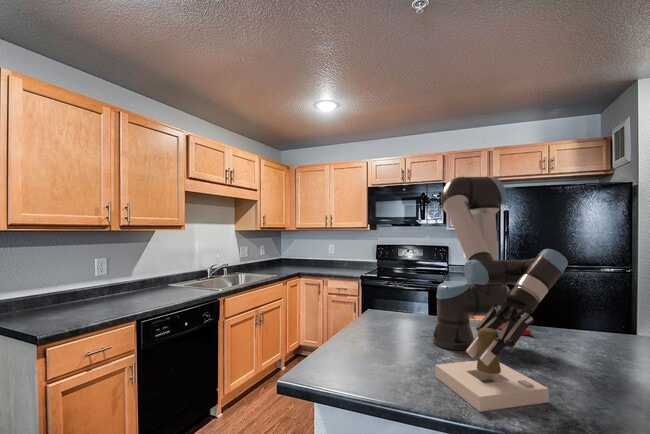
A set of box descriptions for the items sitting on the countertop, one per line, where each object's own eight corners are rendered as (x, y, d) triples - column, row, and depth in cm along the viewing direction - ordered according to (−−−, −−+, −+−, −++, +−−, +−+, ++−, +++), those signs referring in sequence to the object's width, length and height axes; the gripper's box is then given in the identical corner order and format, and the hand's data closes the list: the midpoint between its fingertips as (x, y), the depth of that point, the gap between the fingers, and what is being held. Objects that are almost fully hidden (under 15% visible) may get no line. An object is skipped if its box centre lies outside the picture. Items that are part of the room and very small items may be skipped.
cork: (504, 374, 91) (502, 332, 91) (479, 372, 92) (478, 331, 92) (497, 365, 97) (496, 326, 97) (474, 364, 98) (473, 325, 98)
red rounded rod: (533, 336, 142) (532, 328, 142) (528, 337, 139) (528, 330, 140) (495, 326, 155) (495, 320, 155) (490, 328, 153) (490, 321, 153)
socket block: (435, 376, 102) (435, 363, 103) (493, 370, 107) (493, 357, 107) (479, 411, 83) (479, 394, 83) (548, 402, 87) (548, 386, 87)
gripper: (562, 311, 90) (509, 381, 85) (510, 297, 107) (464, 355, 103) (544, 291, 89) (490, 361, 84) (495, 281, 106) (448, 338, 102)
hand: (476, 358), depth 94 cm, fingers closed on cork, 5 cm apart
